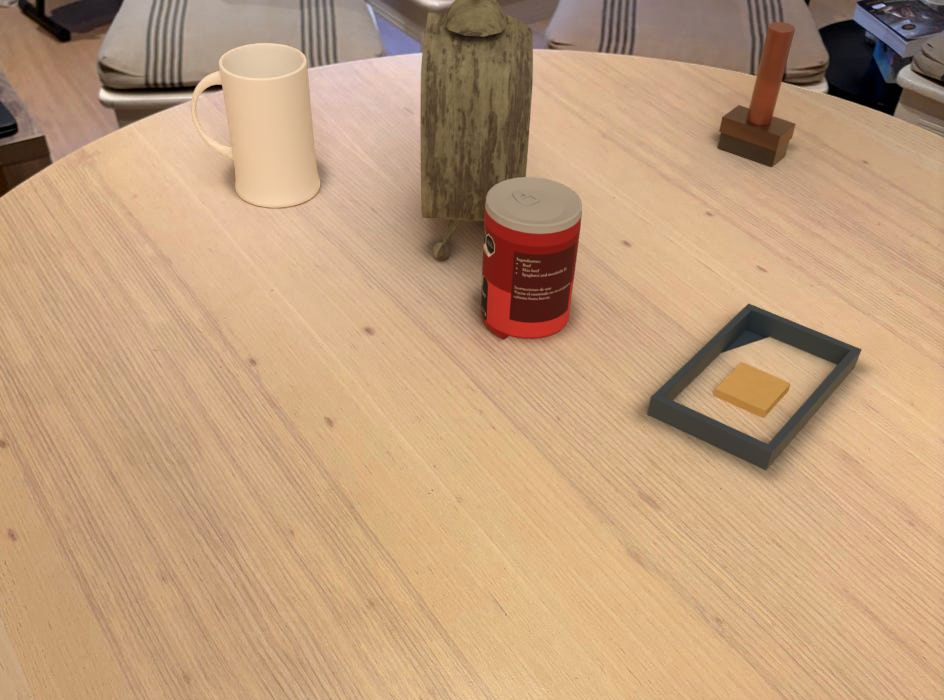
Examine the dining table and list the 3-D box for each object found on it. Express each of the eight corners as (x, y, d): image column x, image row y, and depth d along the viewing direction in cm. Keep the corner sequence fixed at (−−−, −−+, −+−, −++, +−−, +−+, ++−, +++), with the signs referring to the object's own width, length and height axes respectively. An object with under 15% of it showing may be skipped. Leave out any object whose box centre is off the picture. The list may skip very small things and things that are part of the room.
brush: (731, 136, 113) (759, 12, 103) (787, 155, 110) (821, 30, 100) (715, 148, 111) (742, 23, 101) (771, 168, 108) (805, 42, 99)
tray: (740, 330, 90) (748, 302, 87) (851, 377, 86) (862, 349, 84) (644, 425, 81) (650, 396, 79) (762, 480, 77) (772, 452, 75)
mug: (193, 200, 101) (168, 72, 92) (219, 159, 106) (198, 34, 97) (308, 212, 100) (296, 84, 91) (329, 170, 106) (319, 45, 96)
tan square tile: (738, 371, 85) (741, 361, 84) (787, 392, 83) (791, 382, 82) (712, 398, 82) (715, 387, 82) (762, 420, 81) (766, 410, 80)
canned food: (510, 284, 93) (518, 166, 85) (585, 315, 90) (601, 196, 82) (462, 323, 89) (465, 203, 81) (538, 357, 86) (550, 236, 78)
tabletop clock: (430, 191, 103) (430, -103, 84) (519, 195, 103) (540, -98, 84) (421, 270, 94) (419, -39, 75) (518, 274, 94) (542, -34, 75)
